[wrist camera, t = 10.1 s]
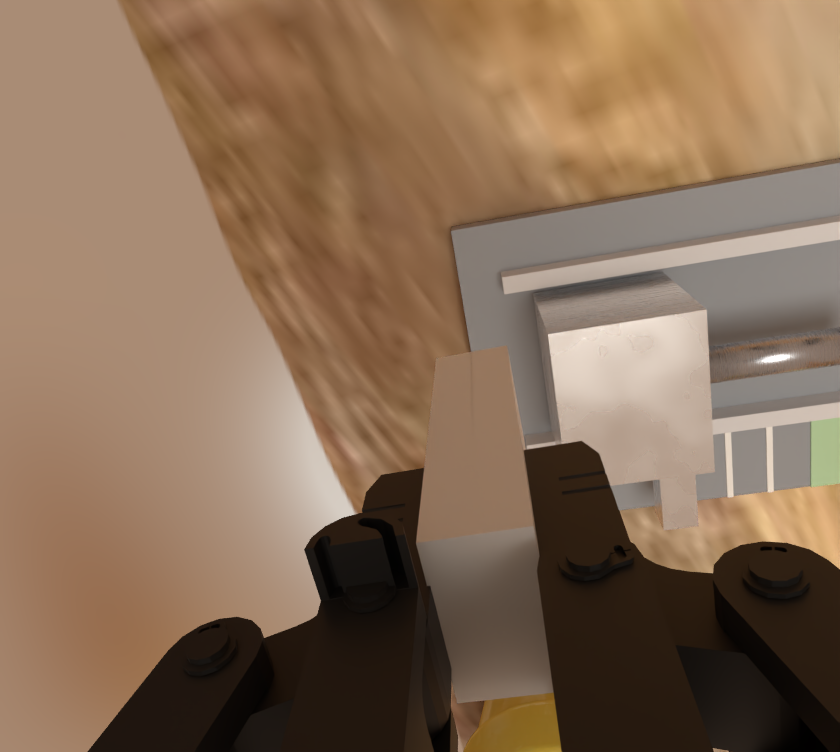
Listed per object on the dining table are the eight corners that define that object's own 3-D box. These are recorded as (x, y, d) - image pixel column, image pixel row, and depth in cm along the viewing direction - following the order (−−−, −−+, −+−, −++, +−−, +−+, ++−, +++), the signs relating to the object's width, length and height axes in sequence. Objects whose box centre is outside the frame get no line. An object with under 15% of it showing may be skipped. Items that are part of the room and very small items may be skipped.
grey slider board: (451, 226, 35) (447, 261, 27) (1187, 97, 31) (1421, 95, 24) (499, 513, 40) (507, 610, 33) (1131, 432, 37) (1308, 519, 29)
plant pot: (486, 759, 47) (492, 919, 38) (436, 633, 43) (429, 775, 34) (647, 726, 45) (694, 885, 36) (607, 593, 42) (648, 730, 33)
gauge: (532, 293, 34) (547, 334, 28) (844, 242, 33) (931, 274, 27) (561, 504, 38) (579, 580, 32) (840, 468, 37) (916, 540, 30)
